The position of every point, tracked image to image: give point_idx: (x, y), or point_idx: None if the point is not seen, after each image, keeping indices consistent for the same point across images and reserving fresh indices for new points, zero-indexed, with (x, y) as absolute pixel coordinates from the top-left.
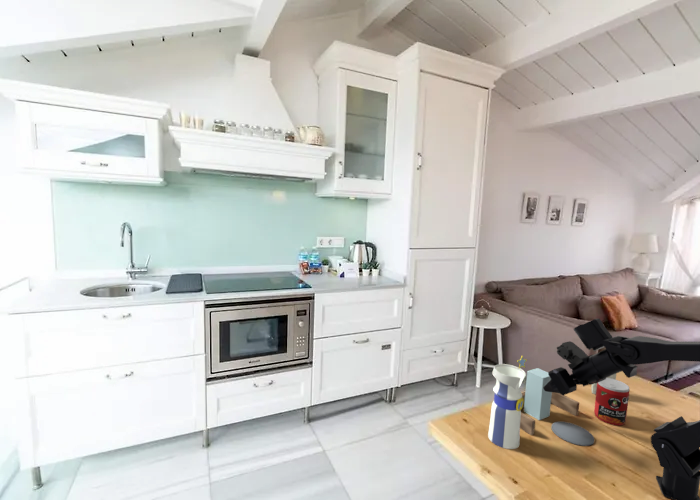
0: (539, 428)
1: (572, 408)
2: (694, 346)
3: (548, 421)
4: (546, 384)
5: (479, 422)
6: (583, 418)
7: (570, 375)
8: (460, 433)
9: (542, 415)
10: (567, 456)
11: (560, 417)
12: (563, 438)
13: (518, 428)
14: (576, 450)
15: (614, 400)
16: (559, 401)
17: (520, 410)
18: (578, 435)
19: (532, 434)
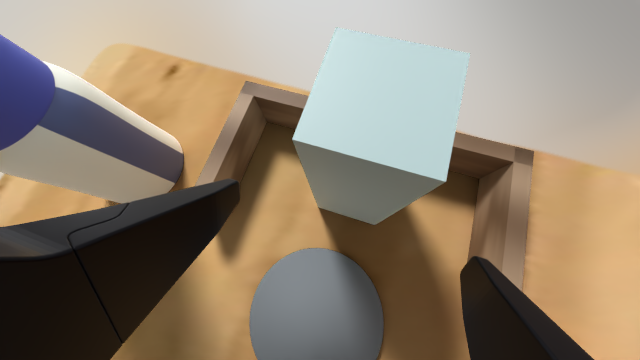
0: (269, 222)
1: None
2: None
3: (335, 232)
4: (174, 192)
5: (184, 96)
6: None
7: (545, 353)
8: (109, 88)
9: (333, 210)
10: (168, 332)
11: (398, 256)
12: (253, 300)
13: (71, 189)
14: (220, 350)
15: None
16: (486, 232)
17: (7, 164)
18: (310, 341)
19: None
